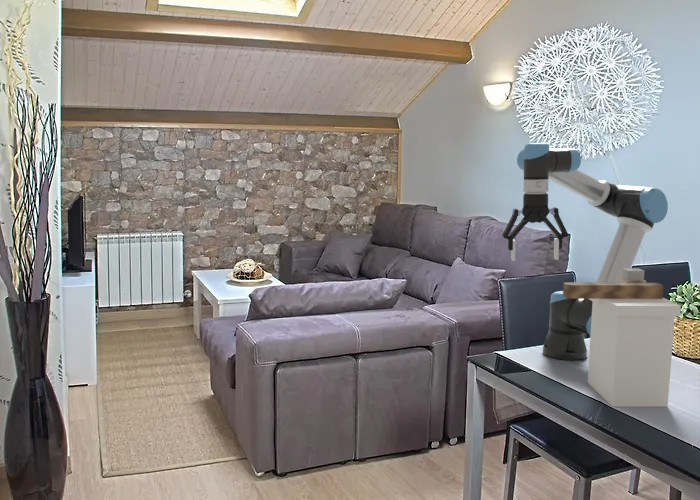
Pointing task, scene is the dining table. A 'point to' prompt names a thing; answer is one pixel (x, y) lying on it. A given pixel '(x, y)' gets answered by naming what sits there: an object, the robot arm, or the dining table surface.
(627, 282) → the birch offcut
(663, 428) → the dining table surface
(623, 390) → the cream stand
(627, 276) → the grey offcut
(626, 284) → the walnut block
